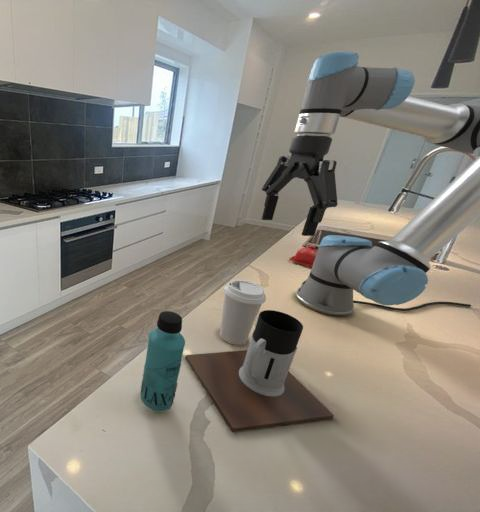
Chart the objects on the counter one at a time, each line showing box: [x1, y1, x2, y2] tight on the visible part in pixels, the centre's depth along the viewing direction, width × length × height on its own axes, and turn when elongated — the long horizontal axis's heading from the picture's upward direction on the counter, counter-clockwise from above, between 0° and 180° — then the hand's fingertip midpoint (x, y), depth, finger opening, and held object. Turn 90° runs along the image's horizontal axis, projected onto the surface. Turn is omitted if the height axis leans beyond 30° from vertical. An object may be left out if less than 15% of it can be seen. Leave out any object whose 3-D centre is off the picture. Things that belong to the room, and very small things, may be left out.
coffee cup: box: [219, 279, 267, 346], centre depth 76 cm, size 10×10×15 cm
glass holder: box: [239, 309, 304, 397], centre depth 59 cm, size 9×14×15 cm, turn 129°
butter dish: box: [289, 244, 318, 268], centre depth 129 cm, size 12×12×8 cm
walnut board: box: [184, 349, 335, 433], centre depth 63 cm, size 21×19×1 cm
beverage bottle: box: [139, 310, 186, 412], centre depth 54 cm, size 6×7×20 cm
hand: (285, 227), depth 75 cm, fingers open, 13 cm apart
